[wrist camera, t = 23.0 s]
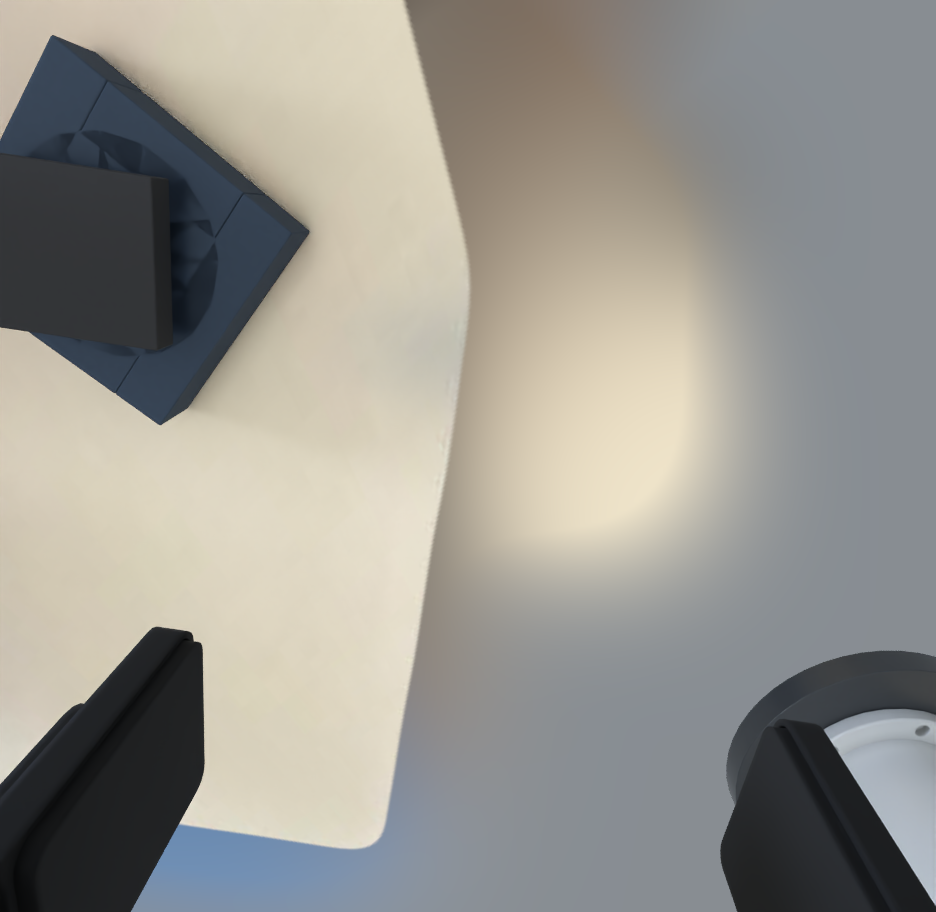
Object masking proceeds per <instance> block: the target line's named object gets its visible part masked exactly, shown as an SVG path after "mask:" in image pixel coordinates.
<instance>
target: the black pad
mask: <svg viewBox="0 0 936 912" xmlns="http://www.w3.org/2000/svg"><path fill="white" fill-rule="evenodd" d="M0 327H2V328H9V329H15V330H22V331H29V332H35V333H42V334H49V335H55V336H62V337H69V338H75V339H82V340H89V341H95V342H102V343H109V344H116V345H122V346H129V347H136V348H142V349H149V350H156V351H157V350H160V349H162V348H165V347H167V346H170V345H172V344H173V323H172V285H171V248H170V211H169V180H168V179H167V178H161V177H155V176H148V175H142V174H135V173H129V172H122V171H116V170H109V169H103V168H96V167H90V166H83V165H77V164H70V163H64V162H57V161H51V160H44V159H38V158H31V157H25V156H18V155H12V154H5V153H0Z"/></svg>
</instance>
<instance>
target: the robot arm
mask: <svg viewBox="0 0 936 912" xmlns="http://www.w3.org/2000/svg"><path fill="white" fill-rule="evenodd" d="M204 764H205V763H204V704H203V649H202V645H201V643H199V642H194V640H193V635H192V633H191V632H189V631H183V630H176V629H169V628H162V627H154V628H152V629H151V630H150V631H149V632H148V633H147V634H146V635H145V636H144V637H143V638H142V639H141V640H140V642H139V643H138V644H137V645H136V646H135V647H134V648H133V650H132V651H131V652H130V653H129V654H128V655H127V656H126V657H125V659H124V660H123V661H122V662H121V663H120V664H119V665H118V666H117V668H116V669H115V670H114V671H113V672H112V673H111V674H110V675H109V677H108V678H107V679H106V680H105V681H104V682H103V683H102V684H101V686H100V687H99V688H98V689H97V690H96V691H95V692H94V693H93V695H92V696H91V697H90V698H89V699H88V700H87V701H86V702H85V704H82V703H80V704H78V705H76V706H73V707H72V708H71V709H70V710H68V711H67V712H66V713H65V714H64V715H63V716H62V717H61V718H60V719H59V720H58V722H57V723H56V724H55V725H54V726H53V727H52V728H51V729H50V730H49V731H48V733H47V734H46V735H45V736H44V737H43V738H42V739H41V740H40V741H39V742H38V744H37V745H36V746H35V747H34V748H33V749H32V750H31V751H30V752H29V753H28V755H27V756H26V757H25V758H24V759H23V760H22V761H21V762H20V763H19V764H18V766H17V767H16V768H15V769H14V770H13V771H12V772H11V773H10V774H9V775H8V777H7V778H6V779H5V780H4V781H3V782H2V783H1V784H0V912H131V910H132V908H133V907H134V905H135V903H136V901H137V899H138V897H139V896H140V894H141V892H142V890H143V888H144V886H145V885H146V883H147V881H148V879H149V877H150V876H151V874H152V872H153V870H154V868H155V866H156V865H157V863H158V861H159V859H160V857H161V856H162V854H163V852H164V850H165V848H166V846H167V845H168V843H169V841H170V839H171V837H172V835H173V833H174V832H175V830H176V828H177V826H178V825H179V823H180V821H181V819H182V817H183V815H184V814H185V812H186V810H187V808H188V806H189V805H190V803H191V801H192V799H193V797H194V795H195V794H196V792H197V790H198V788H199V785H200V783H201V780H202V776H203V772H204ZM720 851H721V863H722V867H723V871H724V874H725V877H726V880H727V883H728V885H729V889H730V891H731V894H732V897H733V900H734V903H735V906H736V909H737V912H936V715H934V714H931V713H928V712H925V711H918V710H910V709H883V710H877V711H871V712H865V713H861V714H858V715H855V716H852V717H848V718H845V719H843V720H841V721H839V722H837V723H835V724H833V725H830V726H828V727H827V728H825V729H824V730H823V729H822V727H821V726H819V725H817V724H816V723H809V722H802V721H795V720H788V719H779V720H777V721H776V722H775V724H774V726H773V727H772V726H768V727H766V728H765V729H764V731H763V733H762V736H761V739H760V741H759V744H758V747H757V749H756V752H755V755H754V757H753V760H752V763H751V765H750V768H749V771H748V773H747V776H746V779H745V781H744V784H743V786H742V789H741V792H740V794H739V797H738V800H737V802H736V805H735V808H734V810H733V813H732V816H731V818H730V821H729V824H728V826H727V829H726V832H725V834H724V837H723V840H722V843H721V850H720Z"/></svg>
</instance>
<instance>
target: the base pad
mask: <svg viewBox="0 0 936 912" xmlns="http://www.w3.org/2000/svg"><path fill="white" fill-rule="evenodd" d="M0 153H5V154H12V155H18V156H25V157H31V158H38V159H44V160H51V161H57V162H64V163H70V164H77V165H83V166H90V167H96V168H103V169H109V170H116V171H122V172H129V173H135V174H142V175H148V176H155V177H161V178H167V179H168V180H169V211H170V248H171V285H172V323H173V344H172V345H170V346H167V347H165V348H162V349H160V350H157V351H156V350H149V349H142V348H136V347H129V346H122V345H116V344H109V343H102V342H95V341H89V340H82V339H75V338H69V337H62V336H55V335H49V334H42V333H35V332H30V333H31V334H32V335H34V336H35V337H37V338H38V339H39V340H41V341H42V342H44V343H45V344H46V345H48V346H49V347H51V348H52V349H53V350H55V351H56V352H58V353H59V354H60V355H62V356H63V357H65V358H66V359H67V360H69V361H70V362H72V363H73V364H74V365H76V366H77V367H79V368H80V369H81V370H83V371H84V372H86V373H87V374H88V375H90V376H91V377H93V378H94V379H95V380H97V381H98V382H100V383H101V384H102V385H104V386H105V387H107V388H108V389H109V390H111V391H112V392H114V393H116V394H117V395H118V396H119V397H121V398H122V399H124V400H125V401H126V402H128V403H129V404H131V405H132V406H133V407H135V408H136V409H138V410H139V411H140V412H142V413H143V414H145V415H146V416H147V417H149V418H150V419H152V420H153V421H154V422H156V423H157V424H159V425H162V424H163V423H165V422H166V421H168V420H170V419H171V418H173V417H174V416H176V415H178V414H179V413H181V412H182V411H184V410H185V409H187V408H188V406H189V405H190V404H191V402H192V401H193V399H194V398H195V396H196V395H197V393H198V392H199V391H200V389H201V388H202V386H203V385H204V383H205V382H206V381H207V379H208V378H209V376H210V375H211V373H212V372H213V370H214V369H215V368H216V366H217V365H218V363H219V362H220V360H221V359H222V357H223V356H224V355H225V353H226V352H227V350H228V349H229V347H230V346H231V345H232V343H233V342H234V340H235V339H236V337H237V336H238V334H239V333H240V332H241V330H242V329H243V327H244V326H245V324H246V323H247V322H248V320H249V319H250V317H251V316H252V314H253V313H254V311H255V310H256V309H257V307H258V306H259V304H260V303H261V301H262V300H263V298H264V297H265V296H266V294H267V293H268V291H269V290H270V288H271V287H272V286H273V284H274V283H275V281H276V280H277V278H278V277H279V275H280V274H281V273H282V271H283V270H284V268H285V267H286V265H287V264H288V262H289V261H290V260H291V258H292V257H293V255H294V254H295V252H296V251H297V250H298V248H299V247H300V245H301V244H302V242H303V241H304V239H305V238H306V237H307V235H308V234H309V230H308V229H306V228H305V227H304V226H303V225H302V224H300V223H299V222H298V221H297V220H296V219H294V218H293V217H292V216H291V215H290V214H288V213H287V212H286V211H285V210H284V209H282V208H281V207H280V206H279V205H278V204H276V203H275V202H274V201H273V200H272V199H270V198H269V197H268V196H265V193H263V192H262V191H261V190H260V189H258V188H257V187H256V186H255V185H254V184H252V183H251V182H250V181H249V180H248V179H246V178H245V177H244V176H243V175H242V174H240V173H239V172H238V171H237V170H236V169H234V168H233V167H232V166H231V165H230V164H228V163H227V162H226V161H225V160H224V159H222V158H221V157H220V156H219V155H218V154H216V153H215V152H214V151H213V150H212V149H210V148H209V147H208V146H207V145H206V144H204V143H203V142H202V141H201V140H200V139H198V138H197V137H196V136H195V135H194V134H192V133H191V132H190V131H189V130H188V129H186V128H185V127H184V126H183V125H182V124H180V123H179V122H178V121H177V120H176V119H174V118H173V117H172V116H171V115H170V114H168V113H167V112H166V111H165V110H164V109H162V108H161V107H160V106H159V105H158V104H156V103H155V102H154V101H153V100H152V99H150V98H149V97H148V96H147V95H146V94H144V93H142V91H141V90H140V89H138V88H137V87H136V86H135V85H134V84H132V83H131V82H130V81H129V80H128V79H126V78H125V77H124V76H123V75H122V74H120V73H119V72H118V71H117V70H116V69H114V68H113V67H112V66H111V65H110V64H108V63H107V62H106V61H105V60H104V59H102V58H101V57H100V56H99V55H98V54H96V53H95V52H93V51H90V50H88V49H86V48H83V47H81V46H78V45H76V44H73V43H71V42H68V41H66V40H64V39H61V38H59V37H56V36H54V35H52V36H51V37H50V39H49V41H48V43H47V45H46V47H45V50H44V52H43V54H42V56H41V58H40V60H39V62H38V64H37V66H36V68H35V70H34V72H33V74H32V76H31V78H30V80H29V82H28V84H27V86H26V88H25V90H24V93H23V95H22V97H21V99H20V101H19V103H18V105H17V107H16V109H15V111H14V113H13V115H12V117H11V119H10V121H9V123H8V125H7V127H6V129H5V131H4V133H3V135H2V138H1V140H0ZM28 332H29V331H28Z"/></svg>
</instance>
